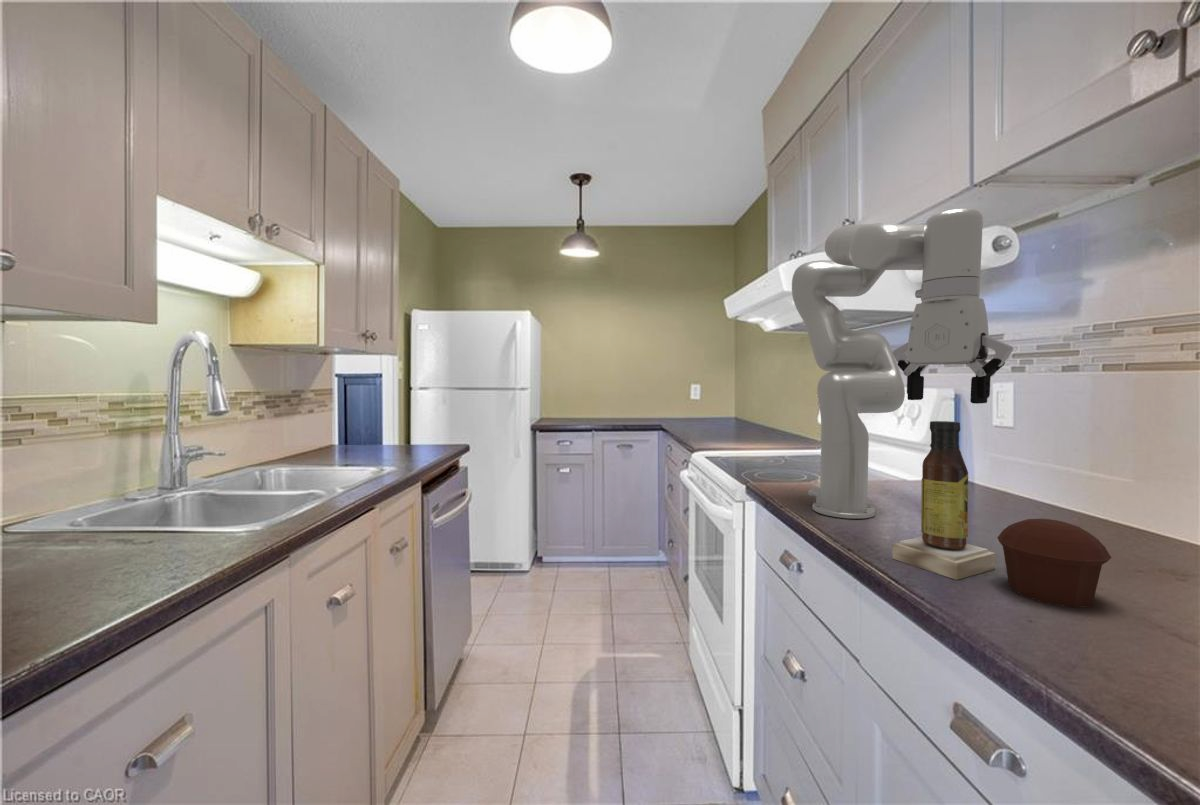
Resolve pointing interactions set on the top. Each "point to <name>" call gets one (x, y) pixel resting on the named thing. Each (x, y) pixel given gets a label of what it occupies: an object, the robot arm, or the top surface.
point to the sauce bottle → (944, 489)
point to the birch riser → (945, 558)
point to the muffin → (1053, 561)
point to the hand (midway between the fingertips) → (945, 401)
